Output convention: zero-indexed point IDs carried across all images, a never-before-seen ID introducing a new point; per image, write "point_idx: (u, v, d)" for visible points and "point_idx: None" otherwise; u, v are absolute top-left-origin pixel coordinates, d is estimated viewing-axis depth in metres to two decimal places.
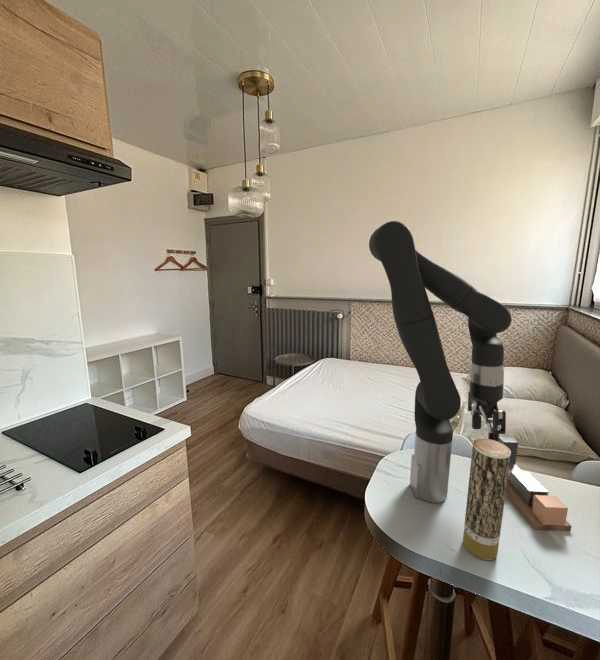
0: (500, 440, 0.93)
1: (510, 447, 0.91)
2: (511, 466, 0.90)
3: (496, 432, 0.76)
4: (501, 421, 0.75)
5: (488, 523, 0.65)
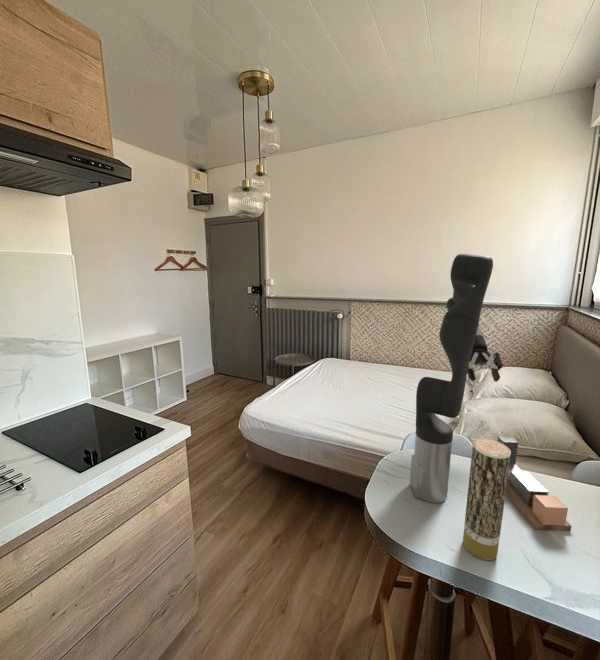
0: (500, 440, 0.93)
1: (510, 447, 0.91)
2: (511, 466, 0.90)
3: None
4: None
5: (488, 523, 0.65)
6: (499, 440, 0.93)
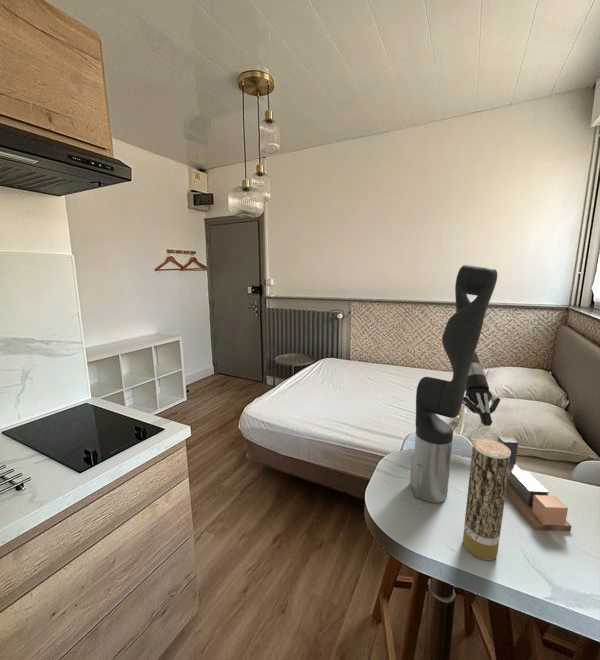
0: (500, 440, 0.93)
1: (510, 447, 0.91)
2: (511, 466, 0.90)
3: None
4: None
5: (488, 523, 0.65)
6: (499, 440, 0.93)
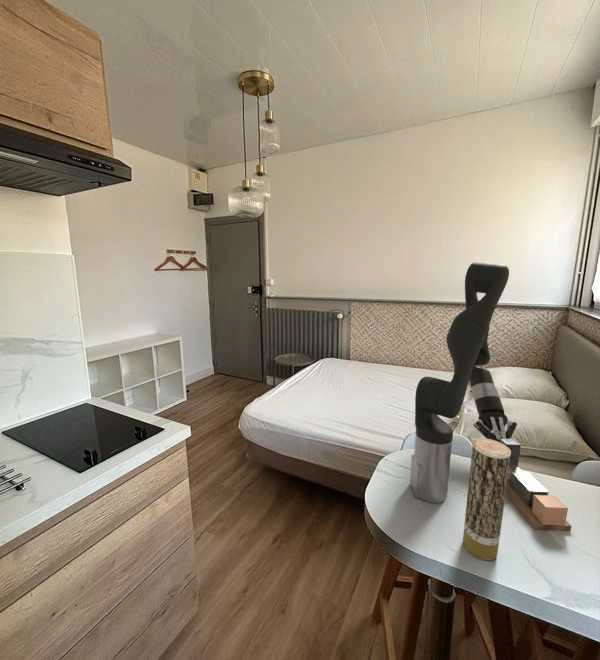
0: (502, 442, 0.91)
1: (512, 449, 0.90)
2: (514, 469, 0.89)
3: None
4: None
5: (488, 523, 0.65)
6: (501, 442, 0.92)
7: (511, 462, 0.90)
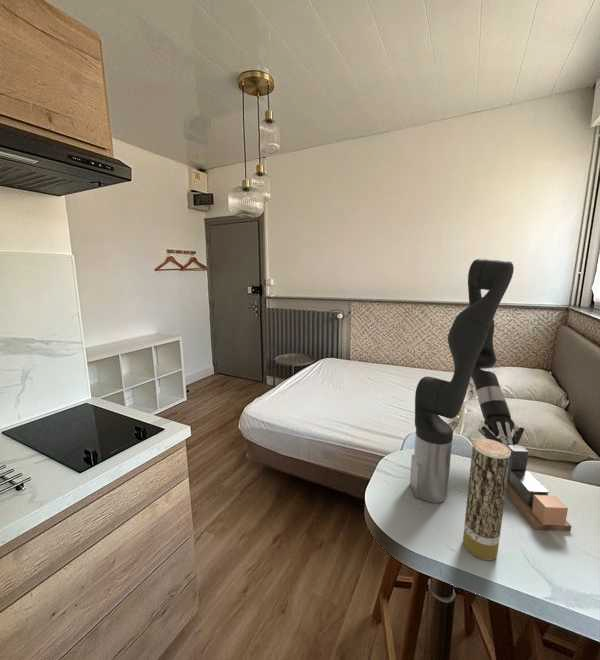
0: (509, 448, 0.88)
1: (520, 456, 0.86)
2: None
3: None
4: None
5: (488, 523, 0.65)
6: None
7: (518, 469, 0.87)
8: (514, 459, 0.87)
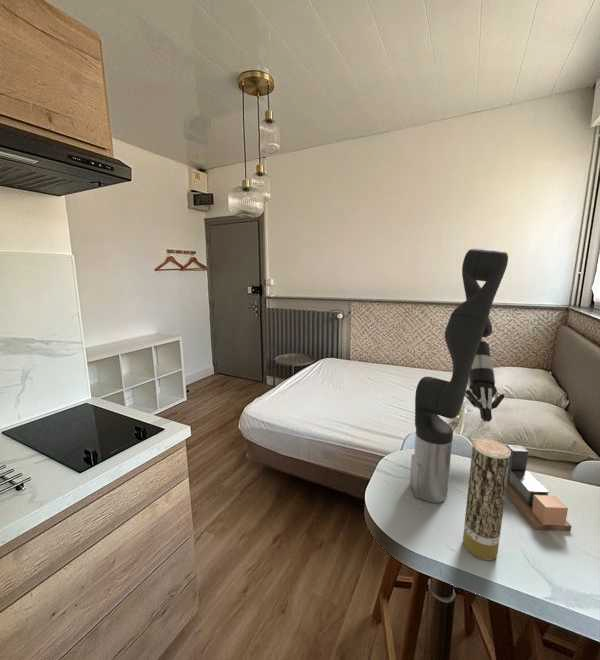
0: (509, 448, 0.88)
1: (520, 456, 0.86)
2: None
3: None
4: None
5: (488, 523, 0.65)
6: None
7: (518, 469, 0.87)
8: (513, 459, 0.87)
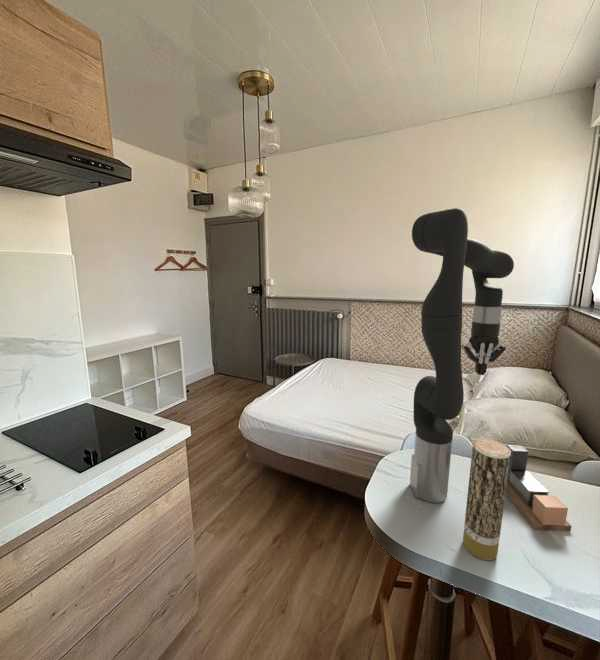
0: (509, 448, 0.88)
1: (520, 456, 0.86)
2: None
3: None
4: None
5: (488, 523, 0.65)
6: None
7: (518, 469, 0.87)
8: (513, 459, 0.87)
